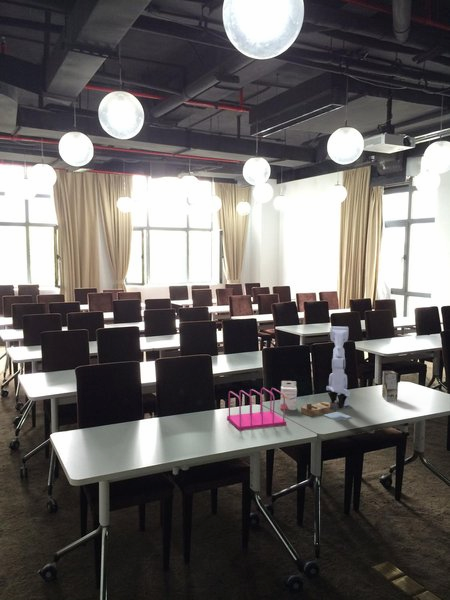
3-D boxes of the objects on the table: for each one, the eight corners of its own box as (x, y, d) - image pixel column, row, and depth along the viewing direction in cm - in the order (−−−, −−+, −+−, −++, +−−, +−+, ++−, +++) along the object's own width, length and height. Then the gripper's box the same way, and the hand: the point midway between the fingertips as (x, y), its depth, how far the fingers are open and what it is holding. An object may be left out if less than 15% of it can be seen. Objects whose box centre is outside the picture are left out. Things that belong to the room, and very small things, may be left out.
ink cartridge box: (280, 409, 271) (280, 382, 269) (280, 406, 275) (280, 380, 274) (296, 410, 270) (297, 383, 268) (296, 407, 275) (296, 381, 273)
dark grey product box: (338, 406, 262) (338, 398, 261) (344, 409, 258) (344, 400, 258) (329, 408, 258) (330, 400, 258) (336, 410, 255) (336, 402, 254)
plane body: (325, 407, 275) (325, 397, 275) (336, 410, 269) (336, 401, 268) (300, 412, 266) (301, 402, 265) (311, 416, 259) (311, 406, 258)
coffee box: (397, 401, 286) (398, 374, 285) (386, 401, 286) (387, 373, 285) (392, 397, 295) (393, 370, 294) (381, 397, 295) (382, 370, 294)
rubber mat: (337, 412, 266) (337, 411, 265) (351, 417, 257) (351, 416, 257) (323, 415, 260) (323, 414, 260) (337, 421, 252) (337, 420, 252)
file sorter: (226, 419, 255) (226, 388, 253) (271, 414, 263) (272, 385, 261) (238, 430, 238) (239, 398, 237) (286, 424, 246) (287, 393, 245)
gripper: (322, 378, 261) (321, 404, 262) (343, 384, 249) (342, 411, 250) (332, 377, 265) (331, 402, 266) (353, 382, 253) (352, 409, 254)
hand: (337, 406), depth 258 cm, fingers closed on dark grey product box, 4 cm apart
